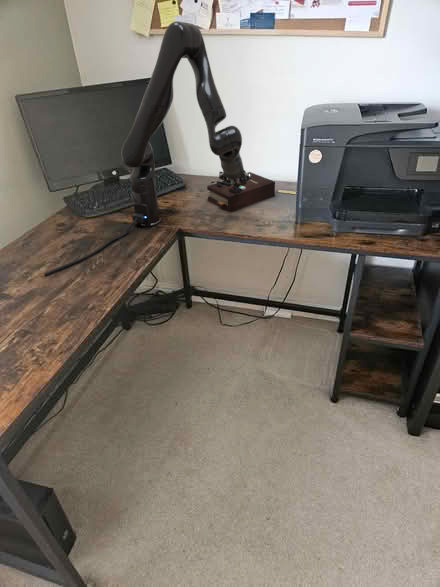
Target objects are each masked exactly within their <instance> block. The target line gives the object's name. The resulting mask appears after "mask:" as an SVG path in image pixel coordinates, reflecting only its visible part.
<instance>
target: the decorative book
mask: <svg viewBox="0 0 440 587" xmlns="http://www.w3.org/2000/svg"><path fill="white" fill-rule="evenodd" d="M210 183H211V184H210V185H207V186H206V190H207V191H209V192H207V194H209V196H208V197H207V201H208V202H210V203H212V204H214V205H216V206H218V207H219V208H222V209H224V210H225V211H227V212H229V213H231V212H234V211H237V210H241V209H242V208H245V207H248V206H251V205H254V204H257V203H259V202H263V201H265V200H269V199H271V198H274V197H276V181H274V180H272V179H269V178H267V177H263V176H262V175H261V176H260V175H259V174H256V173H253V172H251V179H250V180H248V181H247V182H245V183H241V186H239V187H235V186H234V185H233V183H232V182H231V183H227V182H225V181H223V180H222V181H220V180H219V181H218V180H217V181H211V182H210Z"/></svg>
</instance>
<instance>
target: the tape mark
mask: <svg viewBox="0 0 440 587" xmlns="http://www.w3.org/2000/svg"><path fill="white" fill-rule="evenodd" d="M296 192H297V191H293V190H283V189H279V190H277V193H280V194H290V195H297V194H296Z"/></svg>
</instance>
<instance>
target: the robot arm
mask: <svg viewBox="0 0 440 587" xmlns="http://www.w3.org/2000/svg"><path fill="white" fill-rule="evenodd" d="M182 59H187V61H188V63H189V64H190V67H191V68H192V71H193V74H194V78H195V96H196V101H197V104H198V107H199V109H200V111H201V114H202V116H203V119H204V122H205V125H206V130H207V135H208V145H209V148H210V151H211V152H212V153H213V154H214V155H215V156H218V157H219V158H218V159H219V160H220V167H221V169H222V171H219V173H218V179H219V180H222V181H225V182H227V183H231V182H232V183H233V185H234V186H235V187H239V186H241V183H245V182H247V181H248V180H250V179H251V173H252V172H251V171H248V172H247V171H246V170H245V169H244V163H243V159H242V156H241V152H240V151H241V148H242V144H243V135H242V133H241V130H240V129H239V128H238V127H237V126H235V125H228V126H226V127H223V128H222V129H220V130H218V131H216V128H217V126H218V125H219V124H220V123H222V122H223V121H225V119H226V118H227V112H226V109H225V106H224V103H223V101H222V98H221V96H220V94H219V91H218V89H217V88H218V87H217V86H216V83H215V79H214V76H213V72H212V69H211V65H210V59H209V57H208V51H207V48H206V43H205V40H204V37H203V34H202V31H201V29H200V28H199V27H198V26H197V25H195V24H194V23H190V22H184V21H173V22H170V24H168V26H167V28H166V29H165V31H164V34H163V37H162V40H161V44H160V48H159V51H158V55H157V59H156V63H155V65H154V67H153V71H152V74H151V77H150V79H149V83H148V85H147V86H146V90H145V91H144V94H143V97H142V99H141V103H140V106H139V109H138V110H137V113H136V116H135V119H134V122H133V125H132V127H131V129H130V131H129V132H128V135H127V137H126V138H125V141H124V143H123V145H122V147H121V150H120V151H121V152H120V156H121V160H122V162H123V163H124V165H125V166H127V167H129V168H132V171H131V173H130V175H129V181H130V186H131V192H132V197H133V201H134V202H133V210H134V213H133V214H131V219H132V222H130V224H129V225H128V226H127V227H126V230H125V231H124V232H123V233H122V234H120V235H117V236H115V237H113V238H111V239H109V240H108V241H106V242H105V243H104V244H102V245H101V246H100V247H98V248H97V249H95V250H93V251H92V252H90V253H88V254H86V255H83V256H82V257H80V258H78V259H75V260H73V261H71V262H68V263H66V264H63V265H60V266H58V267H56V268H54V269H51V270H49V271H46V272H43V273H44V274H43V275H44V276H45V277H46V276H49V275H51V274H53V273H56V272H58V271H60V270H62V269H65V268H67V267H70V266H73V265H75V264H78V263H79V262H82V261H84V260H86V259H88V258H90V257H92V256H93V255H96V254H97V253H98V252H99V251H102V250H104V248H106V247H107V246H108V245H109V244H111V243H113V242H114V241H117V240H119V239H121V238H123V237H124V236H126V235H127V234H128V233H129V231H130V229H131V228H132V226H134V224H135V223H136V225H137V226H140V227H146V228H151V227H153V226H156V225H158V224H160V223H161V222H162V221H161V219H162V218H161V215H160V214H161V213H160V206H159V201H158V195H157V194H158V193H157V188H156V181H155V173H156V167H155V158H154V157H155V156H154V150H153V147H152V145H151V143H150V140H151V138H152V137H153V136H154V134H155V133H156V132H157V131H158V129H159V128H160V127H161V125H162V124H163V122H164V120H165V119H166V117H167V116H168V113H169V111H170V108H171V107H172V104H173V101H174V76H175V74H176V71H177V68H178V66H179V64H180V62H181V60H182Z"/></svg>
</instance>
